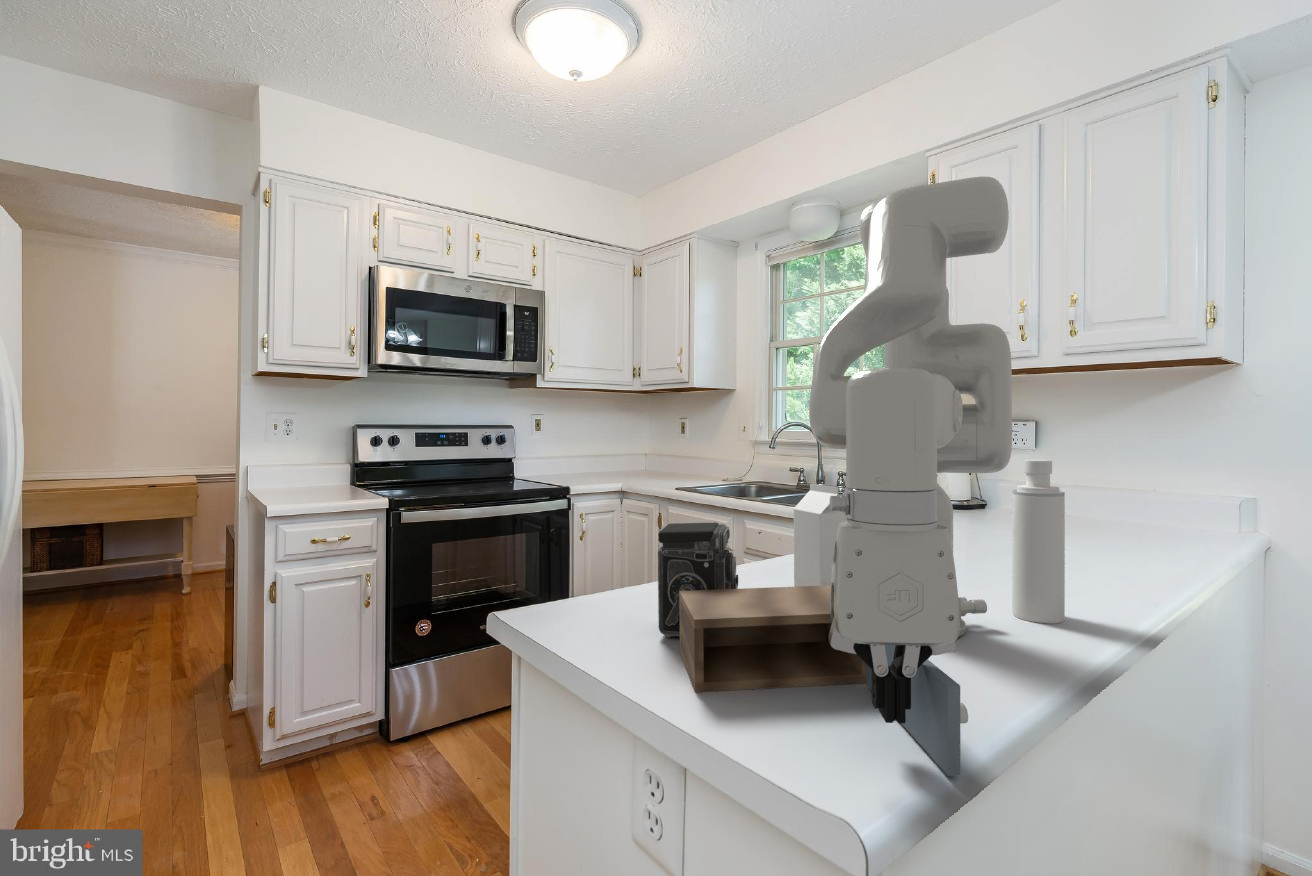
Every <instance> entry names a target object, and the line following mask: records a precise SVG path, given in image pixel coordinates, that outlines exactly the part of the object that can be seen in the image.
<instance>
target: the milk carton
mask: <svg viewBox="0 0 1312 876" xmlns="http://www.w3.org/2000/svg"><path fill="white" fill-rule="evenodd" d="M838 495H839V486H838V487H837V486H831V485H830V486H829V485H823V484H816V483H810V484H809V491H807V493H806V494H805V495H804V496H803V498H802V499H800V501H799V502H798V503H797V504H796V505H795V506H794V507H793V577H794V578H793V587H798V586H825V585H831V577H832V566H833V556H834V548H835V542H836V536H837V531H838V527H839V523H840V522H846V518H847V517H846V516H845V515H844V514H843V512H839V511H831V510H830V496H838Z"/></svg>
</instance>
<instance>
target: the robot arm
mask: <svg viewBox="0 0 1312 876" xmlns="http://www.w3.org/2000/svg"><path fill="white" fill-rule="evenodd" d="M1008 204H1009V203H1008V197H1007V194H1006V192H1005V189H1004V187H1003V185H1002V184H1001V182H1000V181H999V180H998V179H996V178H994V177H991V176H974V177H965V178H960V179H954V180H953V179H952V180H948V181H942V182H935V183H928V184H921V185H917V186H911V187H905V188H903V189H899V190H896V191H893V192H891V193H889V194H888V195H886V196H885V197H883V198H882V199H880V200H877V201H876V202H875V201H874V202H872V203H871V204H870V205H868V206H867V207H866V208H865V209H863V212H862V213H861V215H860V220H859V232H860V239H861V243H862V246H863V247H862V248H863V251H864V253H865V257H866V265H865V275H864V288H863V290H864V291H863V295H862V296H861V297H859V298H858V299H857V300H856V301H854V302H853V303H852V304H851V305H850V306H849V307H848V308H846V309H845V310H844V311H843V313H842V314H841V315H840V316H839V317H838V318H837V319H836V320H835V321H834V323H833V324H832V325H831V326H830V327H829V329H828V330H827V331H826V333H825V335H824V336H823V338H822V340H821V342H820V343H819V345H818V348H817V351H816V355H815V358H814V365H813V372H812V379H811V385H810V395H809V404H808V405H809V407H808V419H809V425H810V430H811V432H812V435H813V437H814V438H815V440H816V441H817V442H818V443H819V444H821V445H822V446H824V447H825V448H829V449H830V448H831V449H833V450H834V449H835V450H845V451H846V452H845V457H846V458H845V463H846V464H845V465H846V467H845V474H846V476H845V477H846V478H845V481H846V483H845V484H846V485H845V486H846V487H844V491H842V494H839V493H838V494H839V495H838V496H830V510H831V511H839V512H843V514H844V515H845V516H846V517H847V518H846V522H840V523H839V527H838V531H837V536H836V542H835V548H834V556H833V566H832V577H831V591H830V615H831V620H832V625H831V629H830V633H829V637H828V641H829V643H830V645H831V647H832V648H834V649H837V650H840V651H844V652H848V653H853V654H857V655H858V656H859V657H860V658H861V659H862V660H863V661H864V662H865V663H866V664H867V665H868V666H869V667H870V668H871V669H872V690H871V701H872V702H871V703H872V706H873V708H874V709H878V712H879V713H880V715H881V716H882V717H881V718H883V720H884V721H885V723H887V724H893V722H897V723H898V724H902V723H905V722H906V709H907V710H910V709H911V677H913V676H915V674H916V672H917V669H918V668H919V667H920V666H921V665H922V664H923V663H924V662H925V661H926V660H927V659H928V660H929V659H930V657H931V656H939V655H943V654H944V655H945V654H949V653H953V652H955V651H956V650H957V644H956V640H957V639H958V638H959V637H961V636H963V635H964V634H965V633H966V631H967V630H966V629H967V623H966V622H965V620H964V619H962V617H966V615H967V614H971V615H974V614H975V615H977V614H986V613H987V611H988V605H987V602H986V601H985V600H984V599H969V600H968V599H967V598H966V596H963V597H961V596H959V591H958V581H957V574H956V565H955V560H954V559H955V558H954V507H953V503H952V500H951V497H950V496H949V495H948V493H947V492H946V491H945V490H944V488H942V487H941V485H940V484H939V483H938V474H943V473H946V474H947V473H948V474H993V473H998V472H1000V471H1002V470H1004V469H1005V468H1006V467H1007V466H1008V464H1009V463H1010V459H1011V457H1012V448H1013V391H1012V390H1013V386H1012V385H1013V384H1012V383H1013V382H1012V381H1013V380H1012V379H1013V378H1012V377H1013V375H1012V373H1013V372H1012V369H1013V368H1012V353H1011V347H1010V346H1011V345H1010V341H1009V339H1008V336H1007V334H1006V333H1005V331H1004V330H1003V328H1001V327H1000V326H998V325H996V324H991V323H969V324H966V323H965V324H955V325H954V324H951V323H950V314H949V312H950V311H949V309H950V303H949V302H950V301H949V300H950V292H949V288H948V286H947V259H950V258H960V257H968V256H977V255H985V254H993V253H996V252H997V251H998V250H1000V248H1001V247H1002V245H1003V243H1004V242H1005V239H1006V236H1007V233H1008V228H1009V221H1010V220H1009V219H1010V218H1009V217H1010V216H1009V205H1008ZM883 345H884V346H883ZM880 346H883V347H884V350H883V351H884V367H880V368H871V369H865V370H860V371H857V372H855V373H854V374H853V375H845V374H846V372H847V370H849V368H850V366H852V364H853V363H854V362H855V361H857V360H858V359H859V358H860V357H862V356H863V355H865V354H867V353H868V352H870V351H872V350H874V349H876V348H879V347H880ZM961 395H968V396H970V397H971V398H972V399H974V403H963V400H962V399H963V397H962V396H961ZM885 645H895V652H894V658H893V661H892V665H889V666H888V663H887V657H886V651H885Z"/></svg>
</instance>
